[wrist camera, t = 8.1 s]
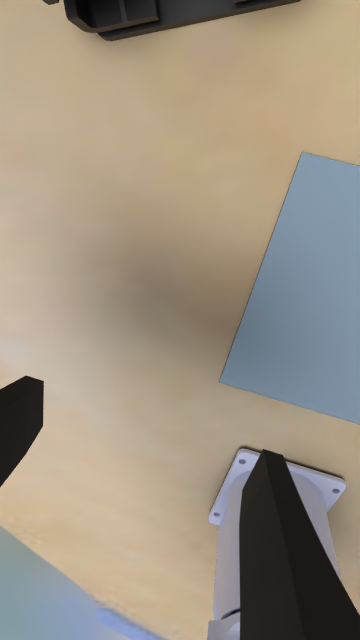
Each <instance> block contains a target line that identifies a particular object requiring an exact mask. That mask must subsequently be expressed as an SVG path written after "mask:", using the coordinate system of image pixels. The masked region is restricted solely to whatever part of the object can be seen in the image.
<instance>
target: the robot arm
mask: <svg viewBox="0 0 360 640" xmlns="http://www.w3.org/2000/svg"><path fill="white" fill-rule="evenodd" d="M43 391H44V381H42V380H39V379H35V378H32V377H29V376H24V377H23V378H21V379H19V380H17V381H15V382H13V383H11V384H9V385H7V386H6V387H4V388H2V389H0V487H1V486H2V484H3V483H4V482H5V480H6V479H7V478H8V477H9V475H10V474H11V473H12V471H13V470H14V469H15V468H16V466H17V465H18V464H19V462H20V461H21V460H22V458H23V457H24V456H25V454H26V453H27V451H28V450H29V448H30V446H31V445H32V443H33V442H34V440H35V438H36V437H37V435H38V433H39V432H40V430H41V428H42V427H43ZM241 459H244V460H241ZM346 487H347V486H346V483H345V481H344V480H343V479H341V478H338V477H335V476H332V475H329V474H325V473H322V472H319V471H316V470H312V469H309V468H306V467H303V466H300V465H296V464H293V463H290V462H287V461H285V459H284V457H283V455H280V454H277V453H274V452H271V451H268V450H264V449H263V450H262V452H261V453H258V452H255V451H251V450H248V449H240V450H239V451H238V452H237V455H236V457H235V459H234V461H233V463H232V466H231V468H230V470H229V472H228V474H227V476H226V479H225V481H224V483H223V485H222V487H221V489H220V492H219V494H218V496H217V498H216V500H215V502H214V505H213V507H212V509H211V511H210V513H209V516H208V521H209V522H210V523H211V524H214V525H217V526H219V529H218V542H217V554H216V567H215V579H214V592H213V613H214V619H215V621H209V626H208V637H207V640H360V615H359V613H358V612H357V610H356V608H355V606H354V605H353V603H352V601H351V599H350V597H349V596H348V594H347V592H346V590H345V588H344V586H343V584H342V580H341V576H340V571H339V567H338V562H337V558H336V553H335V549H334V544H333V539H332V535H331V530H330V526H329V521H328V517H327V512H328V511H329V510H330V508H331V507H332V506H333V505H334V503H335V502H336V501H337V499H338V498H339V497H340V496H341V494H342V493H343V492H344V490H345V489H346Z"/></svg>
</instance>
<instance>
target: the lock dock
mask: <svg viewBox="0 0 360 640" xmlns="http://www.w3.org/2000/svg"><path fill="white" fill-rule="evenodd" d="M219 383H223V384H226V385H229V386H233V387H236V388H240V389H243V390H246V391H250V392H253V393H256V394H260V395H263V396H266V397H270V398H273V399H276V400H280V401H283V402H286V403H290V404H293V405H296V406H300V407H303V408H306V409H310V410H313V411H316V412H320V413H323V414H326V415H330V416H333V417H336V418H340V419H343V420H346V421H350V422H353V423H356V424H360V166H356V165H352V164H348V163H344V162H340V161H336V160H332V159H328V158H324V157H320V156H316V155H312V154H308V153H304V152H302V154H301V156H300V159H299V162H298V165H297V168H296V170H295V173H294V176H293V179H292V181H291V184H290V187H289V190H288V192H287V195H286V198H285V201H284V204H283V206H282V209H281V212H280V215H279V217H278V220H277V223H276V226H275V229H274V231H273V234H272V237H271V240H270V242H269V245H268V248H267V251H266V254H265V256H264V259H263V262H262V265H261V267H260V270H259V273H258V276H257V279H256V281H255V284H254V287H253V290H252V292H251V295H250V298H249V301H248V304H247V306H246V309H245V312H244V315H243V317H242V320H241V323H240V326H239V329H238V331H237V334H236V337H235V340H234V342H233V345H232V348H231V351H230V354H229V356H228V359H227V362H226V365H225V367H224V370H223V373H222V376H221V379H220V381H219Z"/></svg>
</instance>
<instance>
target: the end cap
mask: <svg viewBox="0 0 360 640" xmlns="http://www.w3.org/2000/svg"><path fill="white" fill-rule="evenodd" d="M43 1H44V2H45V3H47V4H48V5H51V4H55V3H59V0H43ZM299 1H301V0H64V5H65V10H66V15H67V18H68V20H69V21H71V22H72V23H73V24H75V25H76V26H77V27H79V28H80V29H81V30H83V31H85V32H90V33H98V34H99V35H100V36H101V37H102V38H103V39H105V40H108V41H114V40H119V39H123V38H128V37H133V36H138V35H142V34H147V33H152V32H157V31H161V30H166V29H171V28H176V27H180V26H185V25H190V24H195V23H199V22H204V21H209V20H214V19H218V18H223V17H228V16H233V15H237V14H242V13H247V12H252V11H256V10H261V9H266V8H271V7H275V6H280V5H285V4H290V3H294V2H299Z"/></svg>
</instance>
